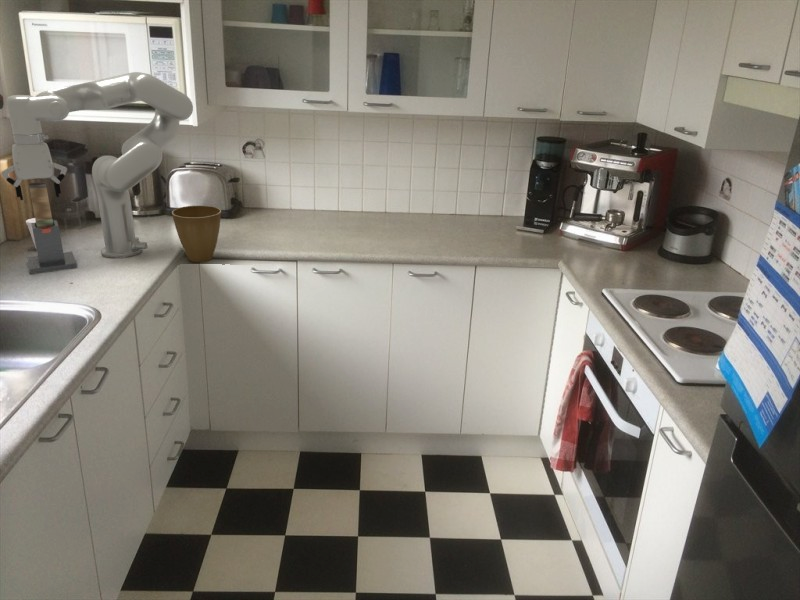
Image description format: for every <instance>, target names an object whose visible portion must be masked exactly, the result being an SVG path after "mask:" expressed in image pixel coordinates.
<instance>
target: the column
mask: <svg viewBox="0 0 800 600" xmlns="http://www.w3.org/2000/svg"><path fill="white" fill-rule="evenodd" d="M28 187H29V188H28V189H29V192H30V198H31V202H32V208H33V214H34V218H35V220H36V225H37V227H45V226H53V221H54V219H53V216H52V215H53V214H52V211H51V205H50V201H49V200H50V199H49V193H48V189H47V184H46V182H45V181H39V182H28Z"/></svg>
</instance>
